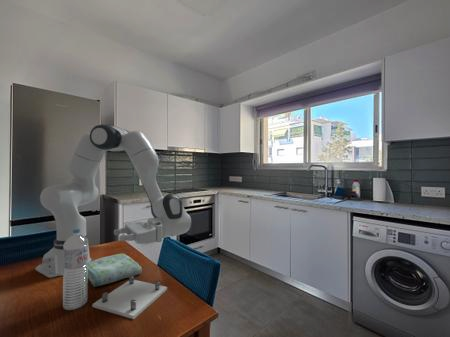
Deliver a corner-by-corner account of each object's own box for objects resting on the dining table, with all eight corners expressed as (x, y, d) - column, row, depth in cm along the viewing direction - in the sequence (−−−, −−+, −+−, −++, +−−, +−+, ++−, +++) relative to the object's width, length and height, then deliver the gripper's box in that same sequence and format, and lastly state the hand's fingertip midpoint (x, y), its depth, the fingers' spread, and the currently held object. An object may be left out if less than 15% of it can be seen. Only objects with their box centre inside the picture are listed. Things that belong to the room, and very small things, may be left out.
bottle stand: (92, 306, 70) (92, 296, 70) (131, 281, 86) (131, 272, 86) (133, 319, 64) (133, 307, 64) (166, 289, 80) (167, 280, 80)
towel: (125, 260, 107) (125, 250, 107) (142, 275, 92) (142, 263, 92) (82, 272, 95) (82, 260, 95) (94, 291, 79) (94, 278, 79)
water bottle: (83, 296, 76) (84, 226, 76) (90, 303, 72) (91, 229, 72) (60, 305, 71) (61, 230, 71) (66, 314, 66) (67, 234, 67)
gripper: (145, 217, 95) (111, 221, 87) (163, 226, 79) (122, 232, 71) (146, 231, 95) (111, 237, 87) (163, 243, 79) (123, 251, 71)
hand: (116, 235), depth 79 cm, fingers open, 8 cm apart
